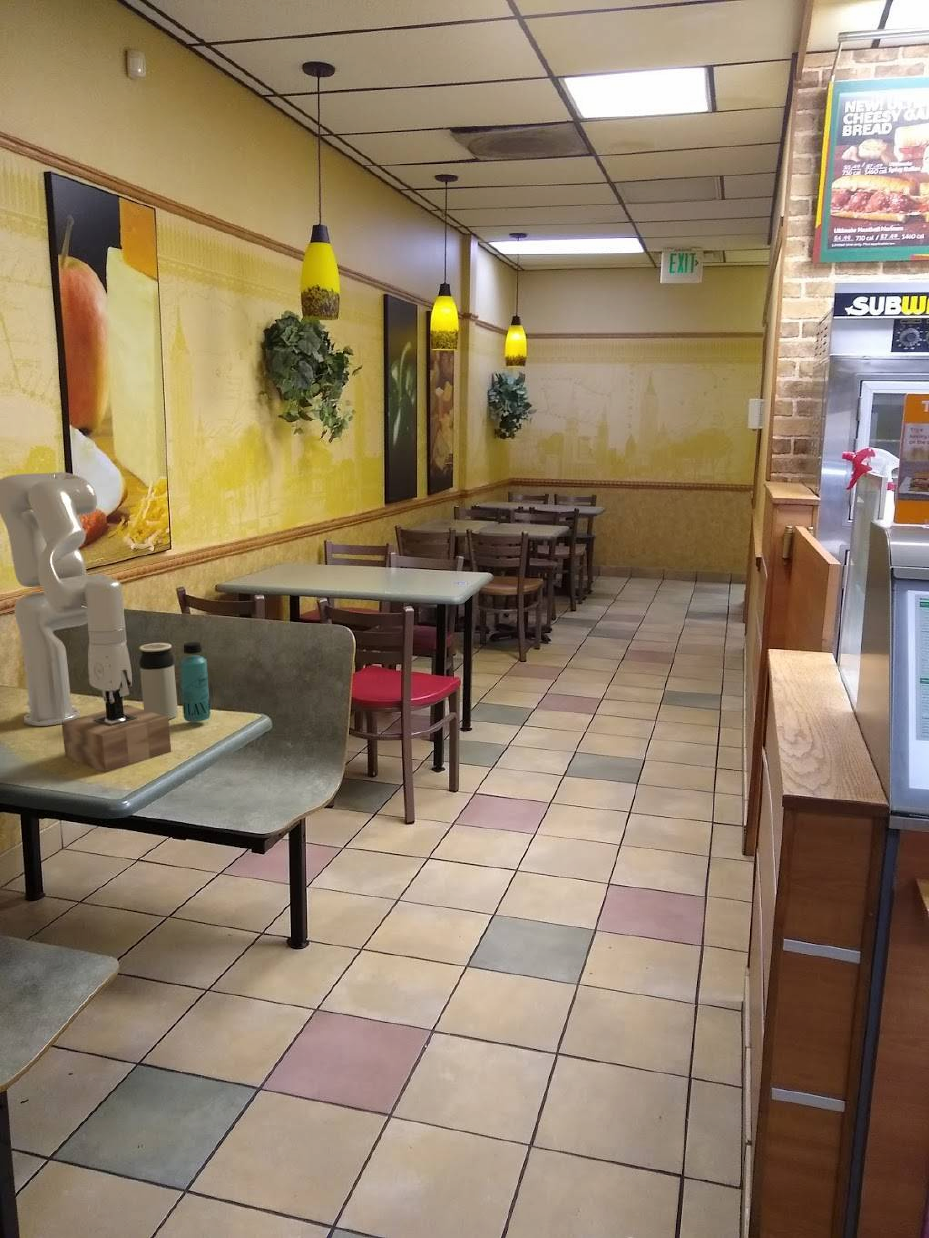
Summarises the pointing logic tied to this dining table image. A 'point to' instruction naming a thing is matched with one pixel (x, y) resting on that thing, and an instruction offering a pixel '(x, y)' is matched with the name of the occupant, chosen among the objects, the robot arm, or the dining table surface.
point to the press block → (116, 738)
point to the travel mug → (158, 679)
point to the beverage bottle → (194, 684)
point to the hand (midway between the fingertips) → (115, 718)
